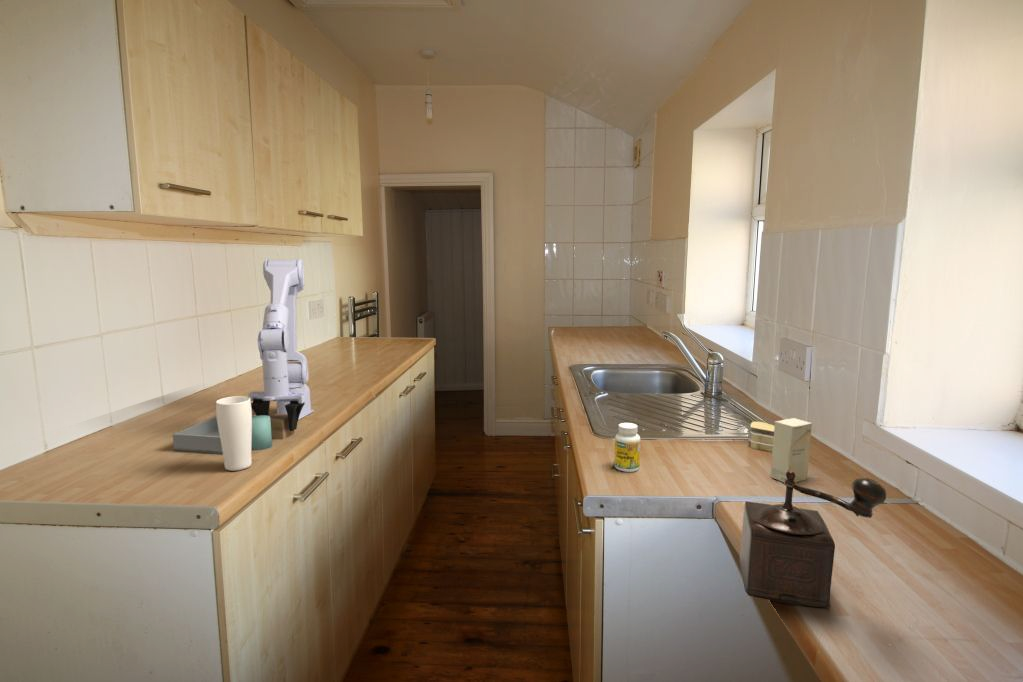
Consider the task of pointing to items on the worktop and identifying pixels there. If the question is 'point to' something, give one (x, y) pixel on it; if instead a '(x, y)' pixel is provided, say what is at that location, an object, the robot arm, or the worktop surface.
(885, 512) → the worktop surface
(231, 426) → the drinking glass
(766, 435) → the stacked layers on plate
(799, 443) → the skincare box
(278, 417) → the walnut cube
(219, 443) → the tray
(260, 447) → the teal cylinder
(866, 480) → the manual coffee grinder
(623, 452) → the supplement bottle
